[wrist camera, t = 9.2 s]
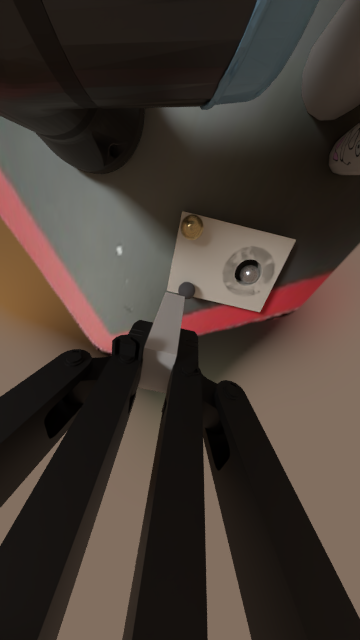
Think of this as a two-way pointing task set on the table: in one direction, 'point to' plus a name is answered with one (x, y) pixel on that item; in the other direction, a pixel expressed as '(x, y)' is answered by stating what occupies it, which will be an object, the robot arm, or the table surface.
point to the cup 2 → (346, 153)
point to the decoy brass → (192, 227)
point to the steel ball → (249, 274)
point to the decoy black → (186, 290)
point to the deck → (228, 262)
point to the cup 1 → (334, 66)
